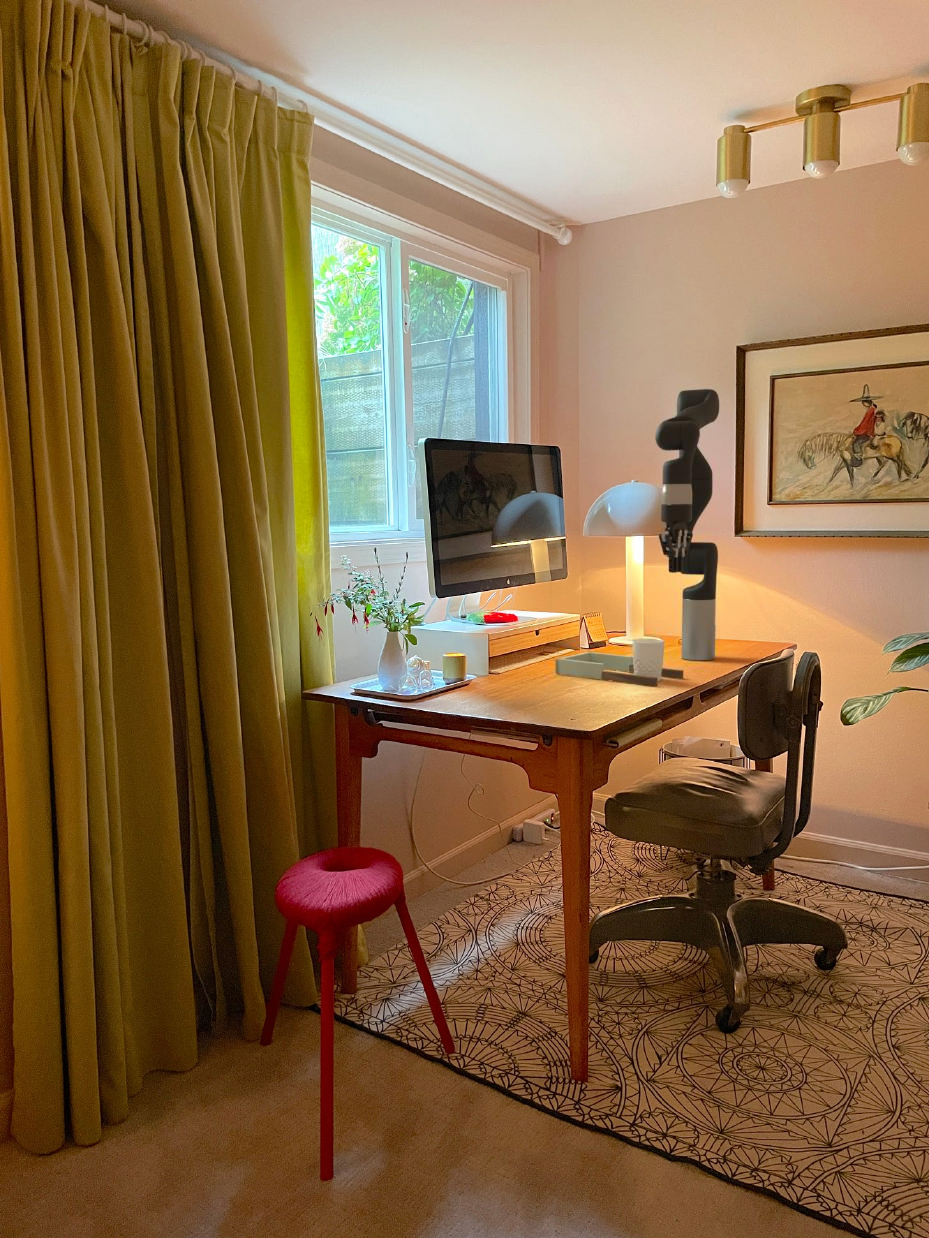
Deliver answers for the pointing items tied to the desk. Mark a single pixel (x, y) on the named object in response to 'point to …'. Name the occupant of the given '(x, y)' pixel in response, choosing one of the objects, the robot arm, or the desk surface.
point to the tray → (592, 664)
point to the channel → (638, 678)
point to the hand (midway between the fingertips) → (675, 571)
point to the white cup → (648, 657)
